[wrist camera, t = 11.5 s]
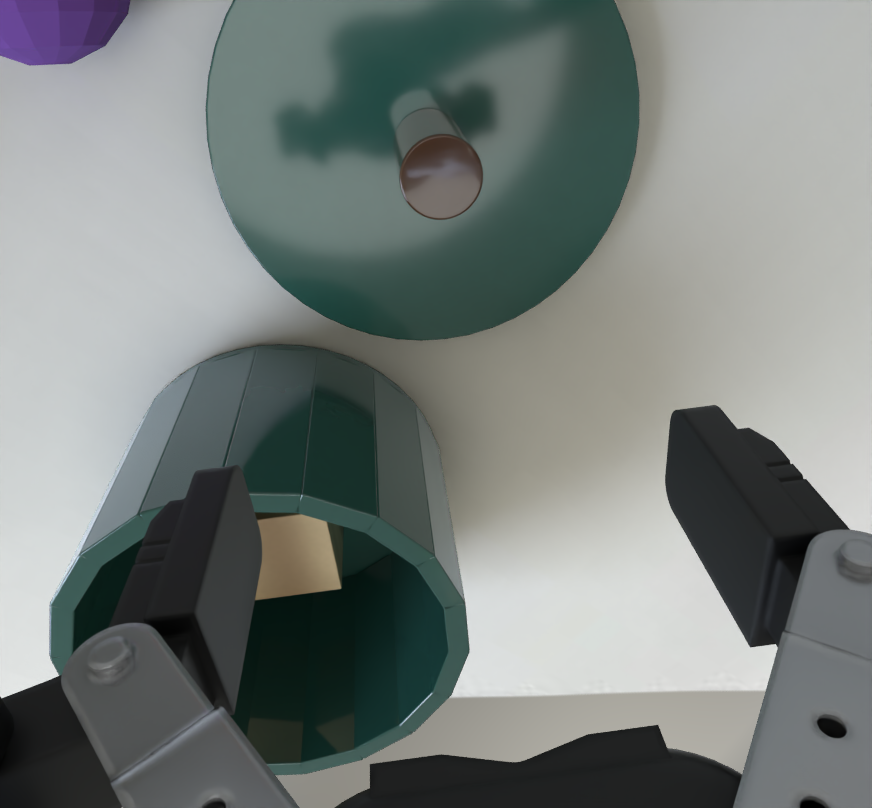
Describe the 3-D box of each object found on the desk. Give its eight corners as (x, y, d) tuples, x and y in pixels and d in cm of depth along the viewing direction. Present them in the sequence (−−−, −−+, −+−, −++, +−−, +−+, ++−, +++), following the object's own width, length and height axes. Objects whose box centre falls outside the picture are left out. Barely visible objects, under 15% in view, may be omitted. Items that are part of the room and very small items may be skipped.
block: (329, 442, 33) (324, 511, 29) (344, 515, 35) (341, 589, 31) (234, 454, 33) (216, 525, 29) (255, 527, 35) (241, 602, 31)
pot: (425, 323, 31) (452, 463, 22) (450, 571, 39) (478, 750, 30) (87, 363, 31) (-26, 523, 22) (180, 606, 38) (126, 799, 29)
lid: (642, -138, 23) (726, -173, 18) (619, 307, 32) (672, 373, 26) (157, -92, 23) (96, -113, 17) (261, 348, 31) (241, 425, 26)
